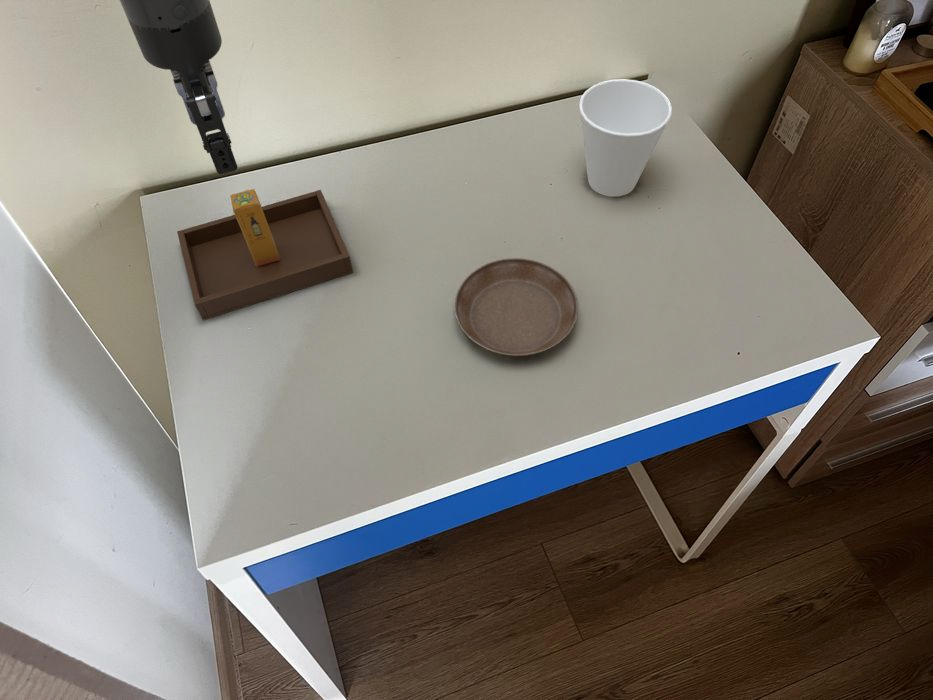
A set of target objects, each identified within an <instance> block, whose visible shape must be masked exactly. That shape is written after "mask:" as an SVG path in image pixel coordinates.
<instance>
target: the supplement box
mask: <svg viewBox="0 0 933 700" xmlns="http://www.w3.org/2000/svg"><path fill="white" fill-rule="evenodd" d="M229 198H230V202H231V207H232V211H233V215H235V216H236V219H237V221H238V223H239V226H240V228H241V230H242V233H243V235H244V238H245V240H246V243H247V245H248V247H249V250H250V252H251V255H252V257H253V260H254V262H255V265H256V266H257V267H259V266H262V265H265V264H268V263H272V262H276V261H280V257H279V253H278V250H277V247H276V244H275V241H274V239H273V236H272V233H271V231H270V228H269V225H268V223H267V220H266V217H265V215H264V212H263V210H262V207H263V206H262V205H261V204H262V203H261V202H260V199H259V197H258V194H257V191H256V190H255V188H250V189H248V190H244V191H240V192H237V193H234V194H230V197H229Z"/></svg>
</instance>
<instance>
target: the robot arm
mask: <svg viewBox="0 0 933 700" xmlns="http://www.w3.org/2000/svg"><path fill="white" fill-rule="evenodd" d="M119 3H120V5H121V7H122V9H123V11H124V14H125V16H126V19H127V21H128V23H129V26H130V28H131V30H132V33H133V35H134V37H135V40H136V42H137V44H138V47H139V49H140V51H141V53H142V56H143V58H144V59H145V61H146V62H147V63H148V64H150V66H153V67H155V68H157V69H162V70H165V71H166V70H169V71H170V73H171V76H172V77H173V79H172V81H173V84H174V88H175V89H176V92H177V94H178V96H180V97H181V98H182V101H183V104H184V107H185V109H186V112H187V115H188V118H189V120H190V122H191V124H193V125H195V126H196V129H197V131H198V133H199V135H200V138H201V142H202V147H203V150H204V151H206V154H209V156H210V158H211V160H212V163H213V165H214V168H215V171H216V173H217V174H218V175H224V174H228V173H231V172H235V171H237V170H238V164H237V161H236V158H235V155H234V153H233V150H232V140H231V136H230V133H229V132H227V130H226V127H225V124H224V121H223V119H224V118H225V117H226V112H225V109H224V106H223V103H222V101H221V97H220V95H219V92H218V88H219V84H218V80H217V78H216V75H215V73H214V70H213V66H212V64H211V61H210V60H212V59H213V58H214V57H215V56H216V55H218V54H219V51H220V49H221V47H222V44H223V41H222V39H223V38H222V35H221V32H220V28H219V26H218V23H217V19H216V16H215V13H214V10H213V7H212V4H211V1H210V0H119ZM217 130H218V131H217ZM213 131H216V132H213ZM209 132H212V133H209ZM207 133H208V134H207Z"/></svg>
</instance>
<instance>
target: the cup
mask: <svg viewBox="0 0 933 700" xmlns="http://www.w3.org/2000/svg"><path fill="white" fill-rule="evenodd" d="M578 109H579V114H580V120H581V130H582V131H581V132H582V138H583V139H582V140H583V149H584V157H585V165H586V166H585V167H586V173H587V174H586V175H587V181H588V184H589V187H590V188H591V189H592V190H593V191H594V192H596V193H598V194H599V195H602V196H605V197H610V198H611V197H612V198H614V197H622V196H626V195H628V194H630V193H631V192H632V191H633V190H634V189H635V188H636V186H637V183H638V182H639V180H640V177H641V176H642V174H643V172H644V170H645V168H646V165H647V164H648V163H649V160H650V158H651V157H652V154H653V152H654V150H655V148H656V146H657V144H658V142H659V140H660V138H661V137H662V134H663V132H664V130H665V128H666V127H667V125H668V123H669V121H670V120H671V118H672V114H673V107H672V104H671V100H670V99H669V98H668V97H667V95H666V94H665V93H664V92H663V91H662V90H660V89H659V88H658V87H656V86H654V85H652V84H649V83H647V82H644V81H640V80H636V79H629V78H628V79H627V78H614V79H608V80H604V81H600V82H598V83H595V84H593V85H591V86H590V87H589V88H587V89H586V90H585V91H584V92H583V94H582V95H581V97H580V98H579V102H578Z"/></svg>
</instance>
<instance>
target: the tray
mask: <svg viewBox="0 0 933 700" xmlns="http://www.w3.org/2000/svg"><path fill="white" fill-rule="evenodd" d="M261 207H262V210H263V212H264V215H265V217H266V220H267V223H268V225H269V228H270V231H271V233H272V236H273V239H274V241H275V244H276V247H277V250H278V253H279V257H280V261H276V262H272V263H268V264H265V265H262V266H259V267H257V266H256V265H255V262H254V260H253V257H252V255H251V252H250V250H249V247H248V245H247V243H246V240H245V238H244V235H243V233H242V230H241V228H240V226H239V223H238V221H237V219H236V216H235V214H232V215H228V216H226V217H222V218H218V219H214V220H211V221H208V222H205V223H202V224H198V225H194V226H191V227H187V228H184V229H180V230H177V231H176V233H177V237H178V240H179V245H180V249H181V254H182V258H183V262H184V266H185V270H186V274H187V278H188V283H189V287H190V291H191V296H192V299H193V304H194V306H195V308H196V310H197V312H198V313H199V315H200V317H201V319H202V321H205V320H208V319H211V318H215V317H218V316H221V315H224V314H227V313H230V312H234V311H236V310H241V309H243V308H247V307H249V306H252V305H255V304H259V303H262V302H265V301H268V300H271V299H274V298H278V297H280V296H283V295H287V294H289V293H293V292H296V291H300V290H303V289H305V288H309V287H313V286H315V285H319V284H322V283H324V282H329V281H331V280H333V279H337V278H340V277H343V276H347V275H350V274H352V273H354V270H353V265H352V261H351V257H350V254H349V252H348V250H347V247H346V245H345V243H344V240H343V238H342V235H341V233H340V231H339V229H338V226H337V224H336V222H335V220H334V217H333V215H332V212H331V210H330V208H329V206H328V204H327V201H326V199H325V196H324V193H323V192H322V189H318V190H315V191H311V192H307V193H305V194H300V195H298V196H294V197H291V198H287V199H284V200H281V201H277V202H273V203H270V204H266V205H263V206H261Z"/></svg>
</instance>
